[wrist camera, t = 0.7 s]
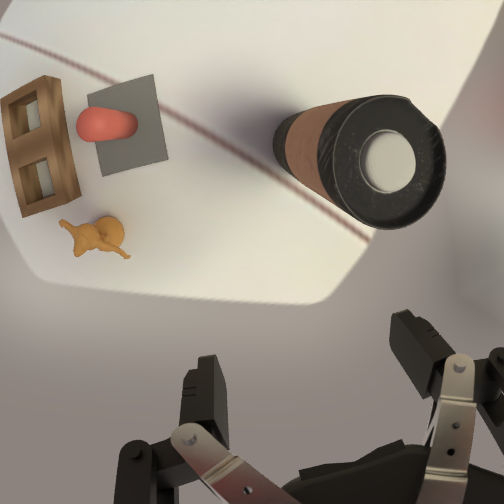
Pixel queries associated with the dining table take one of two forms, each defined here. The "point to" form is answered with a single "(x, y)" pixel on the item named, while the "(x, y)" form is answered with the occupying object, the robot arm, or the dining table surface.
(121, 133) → the peg
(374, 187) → the travel mug
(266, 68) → the dining table surface
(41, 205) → the hole block
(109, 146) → the mat
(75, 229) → the figurine
